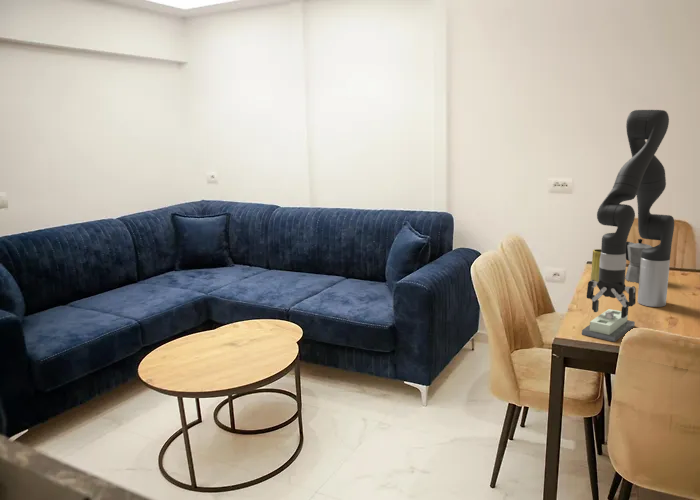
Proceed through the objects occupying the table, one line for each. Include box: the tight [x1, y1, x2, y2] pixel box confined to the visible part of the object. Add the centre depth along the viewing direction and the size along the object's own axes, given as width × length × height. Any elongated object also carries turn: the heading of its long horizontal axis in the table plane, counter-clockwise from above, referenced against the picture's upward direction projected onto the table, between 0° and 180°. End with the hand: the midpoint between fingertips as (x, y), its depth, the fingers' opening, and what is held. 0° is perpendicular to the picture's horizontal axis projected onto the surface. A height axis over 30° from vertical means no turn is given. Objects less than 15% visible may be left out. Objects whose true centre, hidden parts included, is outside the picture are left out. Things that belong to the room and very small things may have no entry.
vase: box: [589, 248, 601, 282], centre depth 223 cm, size 6×6×14 cm
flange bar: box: [589, 308, 629, 335], centre depth 172 cm, size 16×6×3 cm, turn 135°
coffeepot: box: [625, 238, 653, 284], centre depth 226 cm, size 15×9×18 cm, turn 13°
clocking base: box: [581, 310, 636, 343], centre depth 172 cm, size 18×10×6 cm, turn 135°
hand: (609, 314), depth 172 cm, fingers open, 8 cm apart
